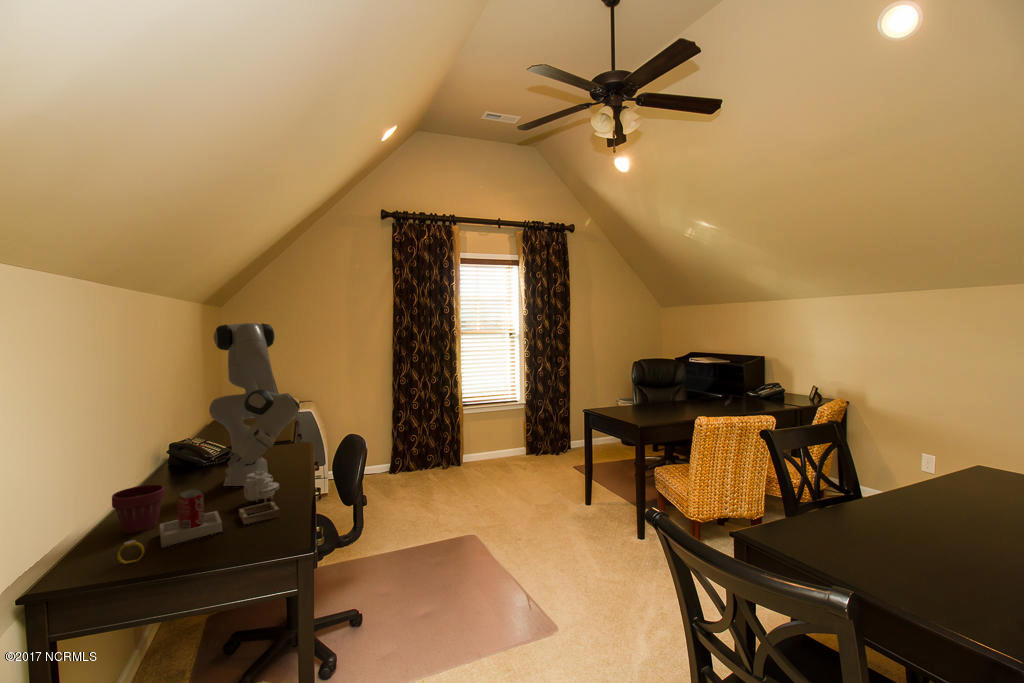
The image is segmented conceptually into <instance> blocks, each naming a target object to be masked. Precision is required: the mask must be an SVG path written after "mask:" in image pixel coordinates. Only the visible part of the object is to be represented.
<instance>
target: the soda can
mask: <svg viewBox="0 0 1024 683" xmlns="http://www.w3.org/2000/svg"><path fill="white" fill-rule="evenodd" d="M204 514H205V497H204V494H203V493H202V490H201V489H200V488H187V489H185V490H183V491H182V492H180V494H179V497H178V499H177V520H178V523H179V528H180V529H183V530H187V529H191V528H195V527H199V526H201V525H202V524H203V522H204Z"/></svg>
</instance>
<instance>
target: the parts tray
mask: <svg viewBox="0 0 1024 683" xmlns="http://www.w3.org/2000/svg"><path fill="white" fill-rule="evenodd" d="M218 532H223V522H222V519H221V517H220V514H219V512H218V510H215V511H210V512H206V513H205V512H204V522H203V524H202V525H201V526H199V527H195V528H191V529H187V530H183V529H180V528H179V523H178V519H175V520H171V521H166V522H163V523H160V524H159V536H160V547H161V549H163V548H167V546H168V547H171V546H170V545H172V546H174V545H173V544H176V543H179V542H183V541H186V540H190V539H194V538H198V537H202V536H206V535H209V534H214V533H218ZM176 545H177V544H176Z"/></svg>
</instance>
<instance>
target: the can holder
mask: <svg viewBox="0 0 1024 683" xmlns="http://www.w3.org/2000/svg"><path fill="white" fill-rule="evenodd" d="M265 510H266V511H265ZM280 510H281V509H280V508H279V506H277V505H276V503H275V502H274V500H271V501H268V502H267V501H266V502H263V503H259V504H255V505H250V506H246V507H241V508H238V517H239V518H240V520H241V522H242V521H243V522H242V523H244V524H243V525H244V526H246V525H245V524H248V525H251V524H250V523H252V524H254V522H256V523H259V522H263V521H267V520H272V519H275V518H279V517H281V512H280ZM261 511H262V512H261ZM257 512H258V513H257ZM252 513H254V514H252ZM248 514H250V515H248ZM266 519H267V520H266ZM262 520H263V521H262ZM258 521H259V522H258Z"/></svg>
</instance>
